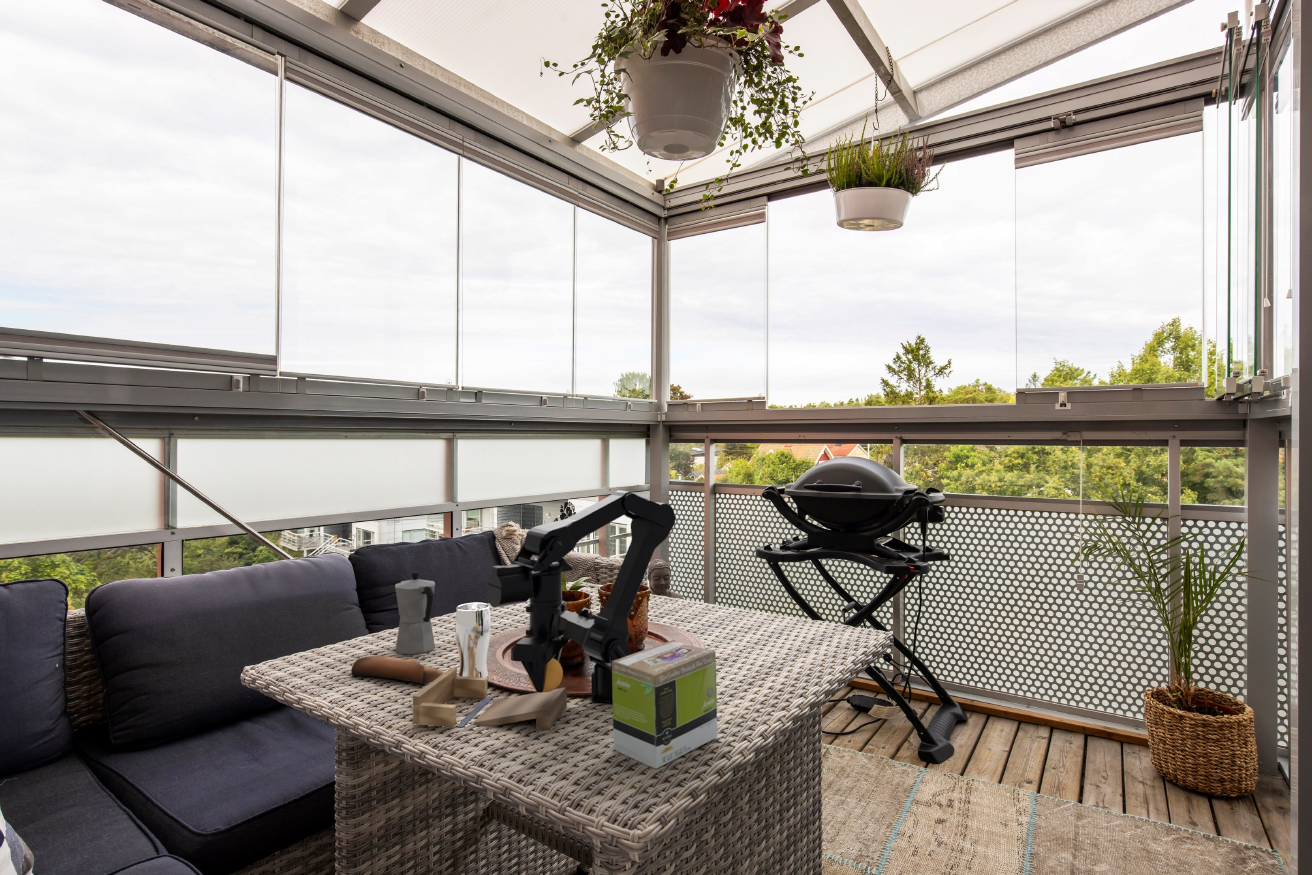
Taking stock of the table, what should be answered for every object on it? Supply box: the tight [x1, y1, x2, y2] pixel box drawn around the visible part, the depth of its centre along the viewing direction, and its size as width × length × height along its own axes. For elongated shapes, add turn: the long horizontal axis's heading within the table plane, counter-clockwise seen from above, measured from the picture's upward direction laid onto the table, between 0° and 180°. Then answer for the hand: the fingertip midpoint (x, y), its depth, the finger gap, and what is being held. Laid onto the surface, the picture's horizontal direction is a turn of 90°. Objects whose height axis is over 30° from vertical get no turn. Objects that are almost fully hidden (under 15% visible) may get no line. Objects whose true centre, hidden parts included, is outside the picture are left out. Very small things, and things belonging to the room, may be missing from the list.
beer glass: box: [454, 602, 492, 678], centre depth 141 cm, size 7×7×15 cm
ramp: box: [473, 686, 568, 731], centre depth 124 cm, size 14×10×5 cm
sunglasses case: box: [350, 655, 445, 686], centre depth 144 cm, size 18×7×7 cm
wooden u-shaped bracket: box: [412, 667, 494, 728], centre depth 126 cm, size 9×14×5 cm, turn 170°
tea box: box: [612, 639, 718, 770], centre depth 112 cm, size 15×10×15 cm, turn 136°
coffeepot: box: [394, 570, 436, 655], centre depth 160 cm, size 15×9×18 cm, turn 43°
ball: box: [528, 658, 564, 692], centre depth 123 cm, size 6×6×6 cm
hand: (545, 685), depth 123 cm, fingers closed on ball, 6 cm apart
